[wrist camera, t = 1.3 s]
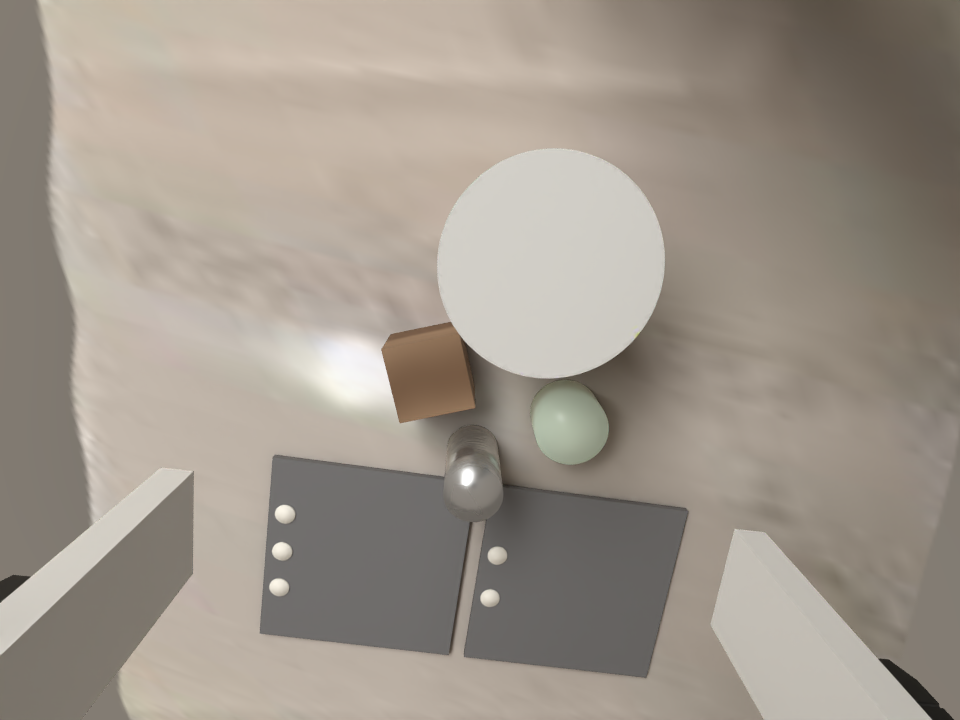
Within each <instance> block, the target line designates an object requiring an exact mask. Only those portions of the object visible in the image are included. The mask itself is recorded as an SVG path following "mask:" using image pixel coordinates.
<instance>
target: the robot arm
mask: <svg viewBox="0 0 960 720" xmlns="http://www.w3.org/2000/svg"><path fill="white" fill-rule="evenodd" d="M193 494H194V471H188V470H179V469H169V468H160V469H159V470H157V471H156V472H155V473H154V474H153V475H151V476H150V477H149V478H148V479H147V480H146V481H144V482H143V483H142V484H141V485H140V486H138V487H137V488H136V489H135V490H134V491H132V492H131V493H130V494H129V495H128V496H127V497H125V498H124V499H123V500H122V501H121V502H119V503H118V504H117V505H116V506H115V507H113V508H112V509H111V510H110V511H109V512H108V513H106V514H105V515H104V516H103V517H102V518H100V519H99V520H98V521H97V522H96V523H94V524H93V525H92V526H91V527H90V528H89V529H87V530H86V531H85V532H84V533H83V534H81V535H80V536H79V537H78V538H77V539H76V540H74V541H73V542H72V543H71V544H70V545H68V546H67V547H66V548H65V549H64V550H62V551H61V552H60V553H59V554H58V555H56V556H55V557H54V558H53V559H52V560H51V561H49V562H48V563H47V564H46V565H45V566H43V567H42V568H41V569H40V570H39V571H38V572H36V573H35V574H34V575H33V576H32V577H28V576H19V575H12V576H10V577H8V578H6V579H4V580H2V581H0V720H82V718H83V717H84V716H85V715H86V713H87V712H88V711H89V709H90V708H91V707H92V705H93V704H94V703H95V701H96V700H97V699H98V697H99V696H100V695H101V693H102V692H103V691H104V689H105V688H106V687H107V685H108V684H109V683H110V681H111V680H112V679H113V678H114V676H115V675H116V674H117V672H118V671H119V670H120V668H121V667H122V666H123V664H124V663H125V662H126V661H127V659H128V658H129V657H130V655H131V654H132V653H133V651H134V650H135V649H136V647H137V646H138V645H139V643H140V642H141V641H142V639H143V638H144V637H145V636H146V634H147V633H148V632H149V630H150V629H151V628H152V626H153V625H154V624H155V622H156V621H157V620H158V618H159V617H160V616H161V614H162V613H163V612H164V611H165V609H166V608H167V607H168V605H169V604H170V603H171V601H172V600H173V599H174V597H175V596H176V595H177V593H178V592H179V591H180V589H181V588H182V587H183V586H184V584H185V583H186V582H187V580H188V579H189V578H190V576H191V575H192V574H193ZM711 627H712V629H713V630H714V632H715V634H716V636H717V637H718V639H719V641H720V643H721V645H722V646H723V648H724V650H725V652H726V653H727V655H728V657H729V659H730V660H731V662H732V664H733V666H734V668H735V669H736V671H737V673H738V675H739V676H740V678H741V680H742V682H743V683H744V685H745V687H746V689H747V691H748V692H749V694H750V696H751V698H752V699H753V701H754V703H755V705H756V706H757V708H758V710H759V712H760V714H761V715H762V717H763V719H764V720H954V719H953V718H952V717H951V716H950V715H949V714H948V713H947V712H946V711H945V710H944V709H943V708H940V707H939V703H938V702H937V701H936V700H935V699H934V698H933V697H932V696H931V695H930V694H929V693H928V691H927V690H926V689H925V688H924V687H923V686H922V685H921V684H920V683H919V682H918V681H917V680H916V679H915V678H913V677H912V676H910V675H909V674H908V673H906V672H905V671H904V670H902V669H901V668H899V667H898V666H897V665H895V664H894V663H893V662H891V661H890V660H887V659H878V658H877V657H876V656H875V655H874V654H873V653H872V652H871V651H870V649H869V648H868V647H867V646H866V645H865V644H864V643H863V642H862V640H861V639H860V638H859V637H858V636H857V635H856V634H855V633H854V632H853V630H852V629H851V628H850V627H849V626H848V625H847V624H846V623H845V621H844V620H843V619H842V618H841V617H840V616H839V615H838V614H837V612H836V611H835V610H834V609H833V608H832V607H831V606H830V605H829V603H828V602H827V601H826V600H825V599H824V598H823V597H822V596H821V594H820V593H819V592H818V591H817V590H816V589H815V588H814V587H813V586H812V584H811V583H810V582H809V581H808V580H807V579H806V578H805V577H804V575H803V574H802V573H801V572H800V571H799V570H798V569H797V568H796V566H795V565H794V564H793V563H792V562H791V561H790V560H789V559H788V557H787V556H786V555H785V554H784V553H783V552H782V551H781V550H780V548H779V547H778V546H777V545H776V544H775V543H774V542H773V541H772V540H771V538H770V537H769V536H768V535H767V534H766V533H765V532H758V531H749V530H740V529H734V533H733V537H732V541H731V545H730V549H729V553H728V557H727V561H726V565H725V569H724V573H723V577H722V581H721V585H720V589H719V593H718V597H717V601H716V605H715V609H714V613H713V617H712V621H711Z"/></svg>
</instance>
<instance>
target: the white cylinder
mask: <svg viewBox="0 0 960 720" xmlns="http://www.w3.org/2000/svg"><path fill="white" fill-rule="evenodd" d="M664 269H665V251H664V242H663V237H662V232H661V229H660V225H659V222H658V219H657V217H656V215H655V212H654V210H653V208H652V206H651V205H650V203H649V201H648V200H647V198H646V196H645V195H644V194H643V192H642V191H641V190H640V188H639V187H638V186H637V185H636V184H635V183H634V182H633V181H632V180H631V179H630V178H629V177H628V176H627V175H626V174H625V173H623V172H622V171H621V170H620V169H618V168H617V167H615V166H614V165H612V164H610V163H609V162H607V161H605V160H603V159H601V158H598V157H596V156H594V155H591V154H588V153H585V152H581V151H576V150H570V149H560V148H548V149H538V150H533V151H528V152H524V153H520V154H518V155H515V156H512V157H510V158H507V159H505V160H503V161H501V162H499V163H498V164H496V165H494V166H493V167H491V168H489V169H488V170H487V171H485V172H484V173H483V174H481V175H480V176H479V177H478V178H477V179H476V180H475V181H473V182H472V183H471V184H470V186H469V187H468V188H467V189H466V190H465V191H464V192H463V194H462V195H461V196H460V198H459V199H458V201H457V202H456V204H455V205H454V207H453V209H452V210H451V212H450V214H449V216H448V219H447V221H446V223H445V226H444V229H443V232H442V235H441V239H440V243H439V249H438V257H437V276H438V285H439V290H440V295H441V298H442V302H443V305H444V307H445V310H446V312H447V314H448V317H449V319H450V320H451V322H452V324H453V326H454V327H455V329H456V330H457V332H458V333H459V335H460V336H461V337H462V338H463V340H464V341H465V342H466V343H467V344H468V345H469V346H470V347H471V348H472V349H473V350H474V351H475V352H476V353H478V354H479V355H480V356H481V357H483V358H484V359H486V360H487V361H489V362H490V363H492V364H494V365H495V366H497V367H500V368H502V369H504V370H506V371H509V372H512V373H515V374H518V375H522V376H527V377H533V378H562V377H568V376H573V375H577V374H581V373H584V372H587V371H589V370H592V369H594V368H596V367H598V366H600V365H602V364H604V363H606V362H608V361H609V360H611V359H612V358H614V357H615V356H617V355H618V354H619V353H620V352H622V351H623V350H624V349H625V348H626V347H627V346H628V345H629V344H630V343H631V342H632V341H633V340H634V339H635V338H636V337H637V336H638V334H639V333H640V332H641V331H642V329H643V328H644V326H645V325H646V323H647V322H648V320H649V318H650V316H651V315H652V312H653V310H654V308H655V306H656V303H657V301H658V298H659V295H660V292H661V288H662V283H663V278H664Z"/></svg>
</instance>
